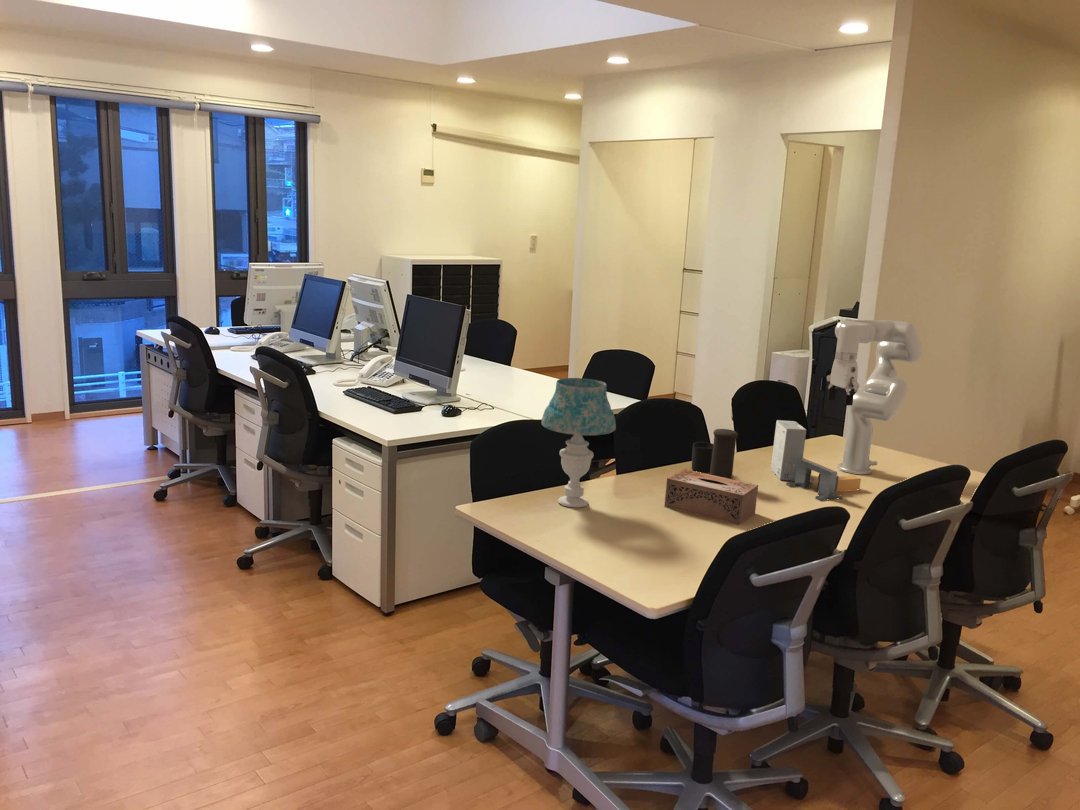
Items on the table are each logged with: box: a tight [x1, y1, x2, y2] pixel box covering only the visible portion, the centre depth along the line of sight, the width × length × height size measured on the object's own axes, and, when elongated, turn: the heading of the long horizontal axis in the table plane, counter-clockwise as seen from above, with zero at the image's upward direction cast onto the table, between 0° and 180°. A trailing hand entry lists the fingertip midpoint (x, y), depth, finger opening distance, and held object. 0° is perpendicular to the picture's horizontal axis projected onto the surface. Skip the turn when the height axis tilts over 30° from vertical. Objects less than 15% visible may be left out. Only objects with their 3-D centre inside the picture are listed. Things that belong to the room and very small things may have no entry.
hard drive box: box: [770, 419, 807, 482], centre depth 325 cm, size 16×8×20 cm, turn 179°
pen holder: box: [691, 441, 714, 474], centre depth 325 cm, size 9×9×10 cm
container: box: [709, 428, 739, 479], centre depth 309 cm, size 9×9×20 cm
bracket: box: [785, 457, 843, 501], centre depth 307 cm, size 10×18×10 cm, turn 22°
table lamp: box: [541, 377, 617, 509], centre depth 274 cm, size 24×24×40 cm
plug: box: [816, 473, 862, 493], centre depth 311 cm, size 16×5×6 cm, turn 112°
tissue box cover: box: [663, 469, 759, 526], centre depth 279 cm, size 26×14×10 cm, turn 57°
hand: (839, 402), depth 319 cm, fingers open, 9 cm apart
